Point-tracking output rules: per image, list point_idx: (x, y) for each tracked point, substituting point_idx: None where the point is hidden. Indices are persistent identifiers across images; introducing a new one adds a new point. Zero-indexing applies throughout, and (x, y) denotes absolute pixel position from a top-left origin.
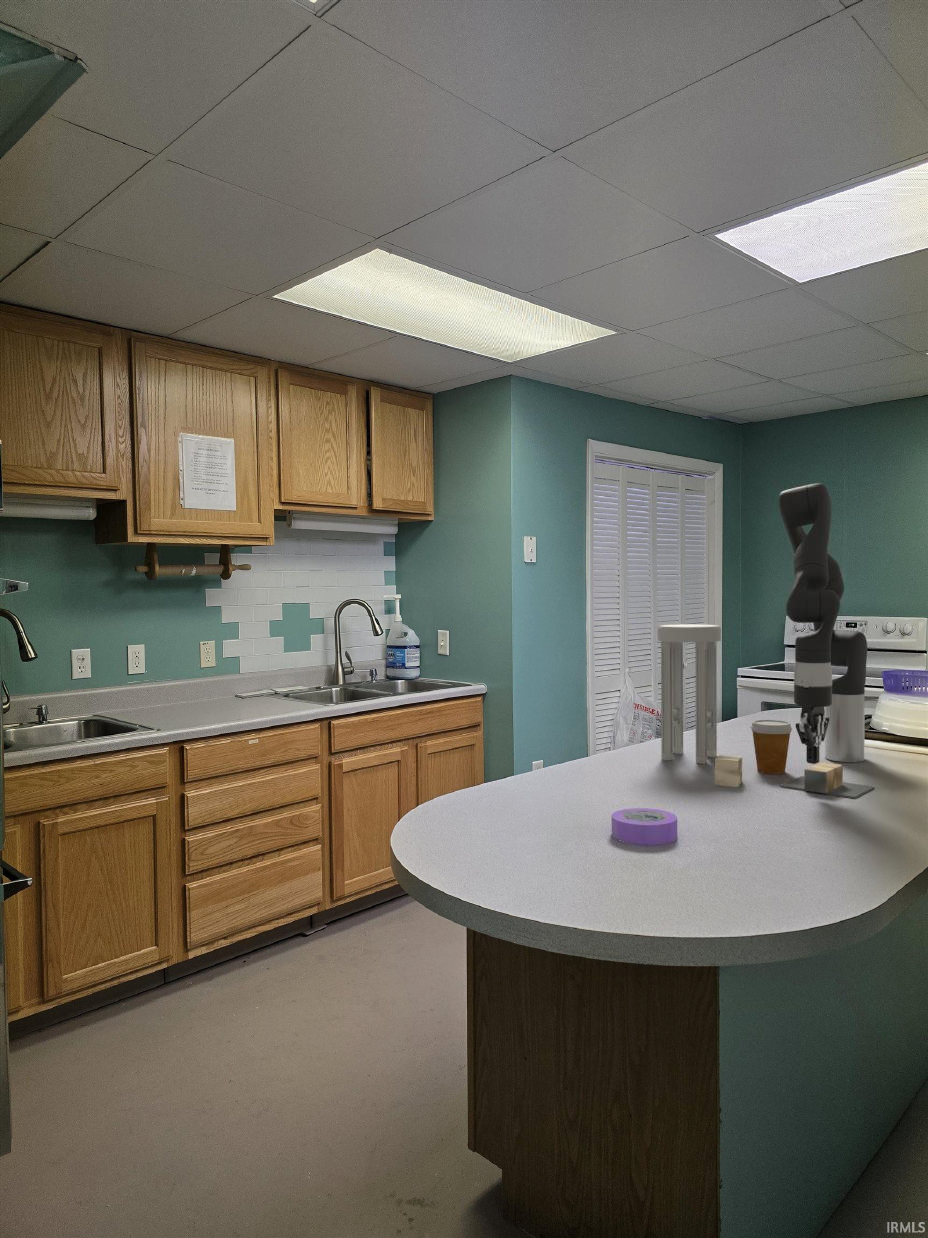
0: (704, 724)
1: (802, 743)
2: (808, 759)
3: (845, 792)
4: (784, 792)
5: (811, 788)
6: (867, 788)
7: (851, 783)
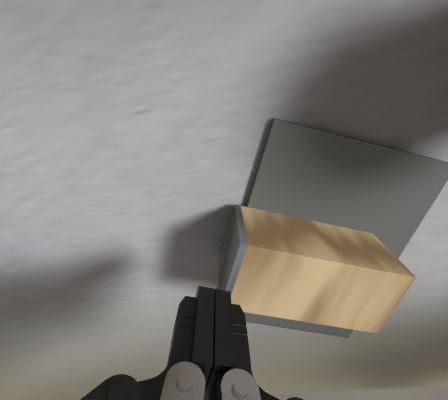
0: None
1: (108, 382)
2: (179, 306)
3: None
4: (194, 146)
5: (228, 228)
6: (321, 328)
7: None
